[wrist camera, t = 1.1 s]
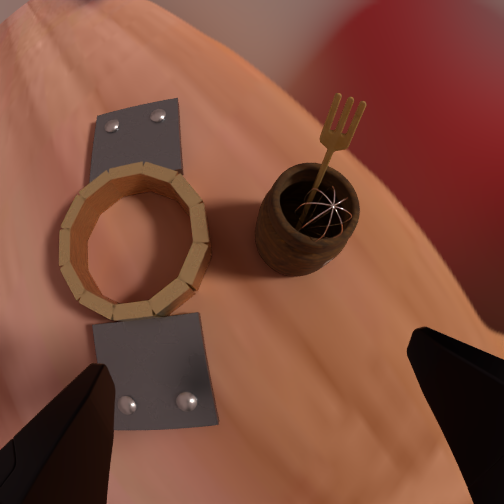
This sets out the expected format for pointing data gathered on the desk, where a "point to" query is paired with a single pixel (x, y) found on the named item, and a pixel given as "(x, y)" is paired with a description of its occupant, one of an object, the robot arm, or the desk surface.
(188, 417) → the wooden ring bracket
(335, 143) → the utensil holder
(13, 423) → the desk surface
